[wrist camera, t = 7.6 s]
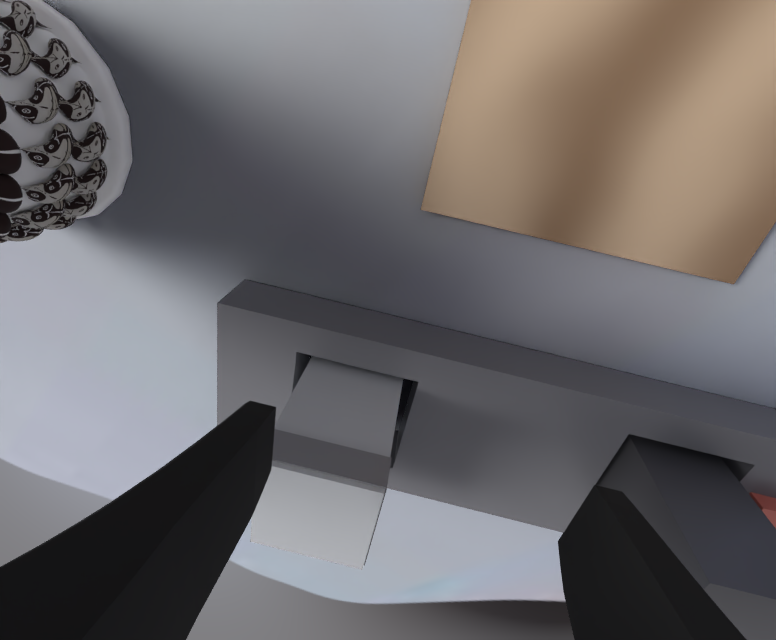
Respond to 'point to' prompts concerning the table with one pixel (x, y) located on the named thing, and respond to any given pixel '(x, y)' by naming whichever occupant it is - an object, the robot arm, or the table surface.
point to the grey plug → (329, 464)
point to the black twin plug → (704, 526)
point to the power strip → (485, 405)
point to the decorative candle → (55, 124)
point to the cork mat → (616, 128)
